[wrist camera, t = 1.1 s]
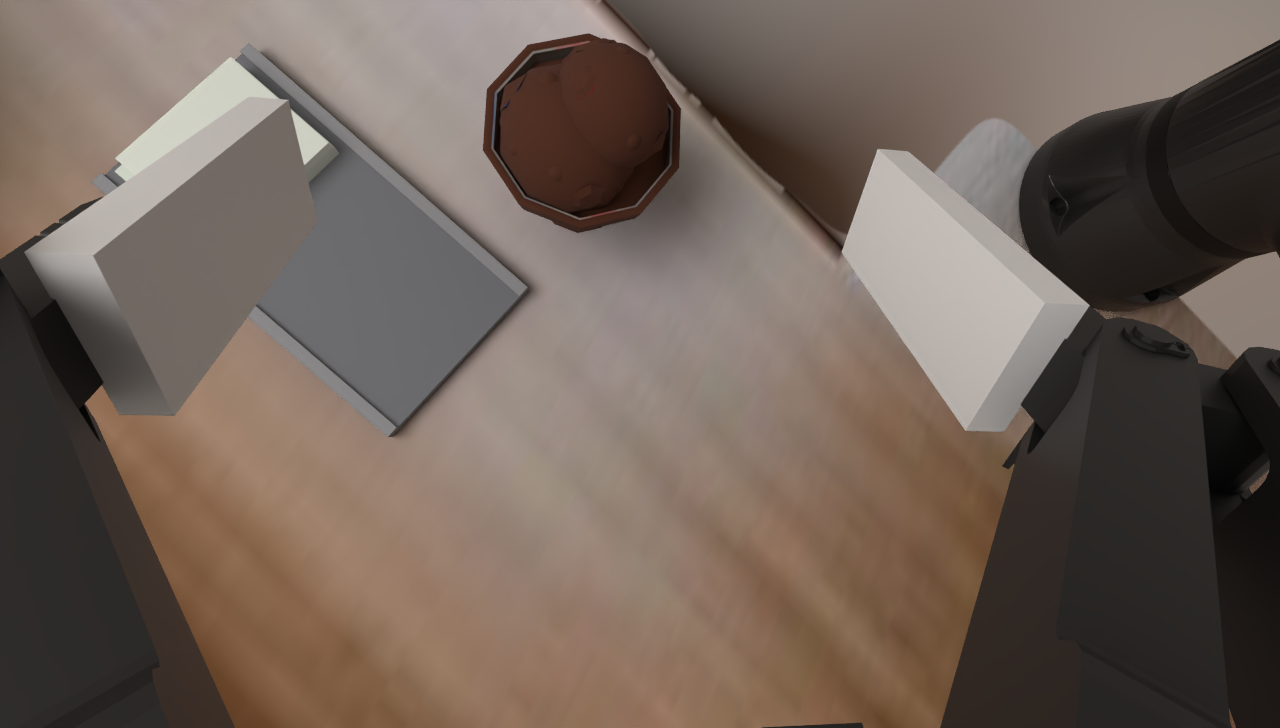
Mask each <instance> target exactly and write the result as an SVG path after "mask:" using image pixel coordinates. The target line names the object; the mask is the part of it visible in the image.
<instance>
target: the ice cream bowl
mask: <svg viewBox="0 0 1280 728" xmlns="http://www.w3.org/2000/svg"><path fill="white" fill-rule="evenodd" d="M680 116H681V108H680V107H679V105H678V104H677V102H676V101H675V99H674V98H673V97H672V95H671V94H670V92H669V91H668V89H667V88H666V86H665V84H664V82H663V81H662V79H661V78H660V76H659V75H658V73H657V72H656V70H655V69H654V67H653V66H652V64H651V63H650V61H649V60H648V58H647V57H645V56H644V55H642V54H641V53H639V52H638V51H636V50H634V49H633V48H631V47H630V46H628V45H626V44H623V43H617V42H616V41H614V40H608V39H605V38H603V39H601V38H598V37H596V36H594V35H591V34H583V35H578V36H573V37H567V38H562V39H556V40H551V41H546V42H540V43H535V44H530V45H527V46H526V48H525V49H524V50H523V51H522V52H521V53H520V54H519V55H518V56H517V57H516V58H515V59H514V61H513V62H512V63H511V64H510V65H509V66H508V67H507V68H506V69H505V70H504V71H503V72H502V73H501V75H500V76H499V77H498V78H497V79H496V80H495V81H494V82H493V83H492V84H491V85H490V86H489V88H488V89H487V98H486V113H485V128H484V143H483V151H484V152H485V154H486V155H487V157H488V158H489V160H490V161H491V163H492V164H493V166H494V167H495V169H496V170H497V172H498V173H499V175H500V176H501V178H502V179H503V181H504V183H505V184H506V186H507V187H508V189H509V190H510V192H511V193H512V195H513V196H514V198H515V199H516V201H517V202H518V204H519V205H520V206H521V207H522V208H523V209H524V210H526V211H529V212H531V213H534V214H536V215H539V216H541V217H544V218H546V219H549V220H551V221H553V222H554V224H557V225H559V226H562V227H564V228H567V229H569V230H572V231H574V232H577V233H579V232H583V231H588V230H592V229H596V228H600V227H602V226H604V225H609V224H613V223H617V222H621V221H626V220H630V219H634V218H636V217H637V216H639V215H640V214H641V213H642V212H643V210H644V209H645V208H646V207H647V206H648V204H649V203H650V202H651V201H652V200H653V198H654V197H655V196H656V195H657V194H658V192H659V191H660V190H661V189H662V188H663V186H664V185H665V184H666V183H667V182H668V180H669V179H670V178H671V177H672V176H673V174H674V173H675V172H676V171H677V170H678V168H679V150H680Z"/></svg>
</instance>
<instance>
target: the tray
mask: <svg viewBox="0 0 1280 728" xmlns="http://www.w3.org/2000/svg"><path fill="white" fill-rule="evenodd" d="M240 52H241V53H242V54H241V55H240V56H239V57H238V58H237V59H236V60H235V61H236V62H237V63H239V64H240V65H242V66H243V67H244V68H245V69H246V70H247V71H248V72H250V73H251V74H252V75H253V76H254V77H255V78H256V79H258V80H259V81H260V82H261V83H262V84H263V85H264V86H266V87H267V88H268V89H269V90H270V91H271V92H272V93H274V94H275V95H276V96H277V97H278V98H279V99H284V100H289V104H290V108H291V109H292V110H293V111H294V112H295V113H296V114H298V115H299V116H300V117H301V118H302V119H303V120H304V121H306V122H307V123H308V124H309V125H310V126H311V127H312V128H314V129H315V130H316V131H317V132H318V133H319V134H320V135H322V136H323V137H324V138H325V139H326V140H327V141H328V142H330V143H331V144H332V145H333V146H334V147H335V148H336V149H337V151H338V152H339V154H338V155H337V156H336V157H335V158H334V159H333V160H332V161H331V162H330V163H329V164H328V165H327V166H326V167H325V168H324V169H323V170H322V171H320V172H319V173H318V174H317V175H316V176H315V177H314V178H313V179H312V180H311V181H310V182H309V187H310V191H311V195H312V200H313V204H314V208H315V212H316V216H317V220H318V222H317V223H316V225H315V226H314V227H313V229H312V230H311V231H310V233H309V234H308V235H307V237H306V238H305V239H304V241H303V242H302V244H301V245H300V246H299V248H298V249H297V250H296V252H295V253H294V254H293V256H292V257H291V258H290V260H289V261H288V263H287V264H286V265H285V267H284V268H283V269H282V271H281V272H280V273H279V275H278V276H277V278H276V279H275V280H274V282H273V283H272V284H271V286H270V287H269V288H268V290H267V291H266V292H265V294H264V295H263V297H262V298H261V299H260V301H259V302H258V303H257V305H256V306H255V307H254V309H253V310H252V311H251V313H250V314H249V316H248V318H250V319H251V320H252V321H253V322H254V323H255V324H257V325H258V326H259V327H260V328H261V329H262V330H264V331H265V332H266V333H267V334H268V335H269V336H271V337H272V338H273V339H274V340H275V341H276V342H278V343H279V344H280V345H281V346H282V347H283V348H285V349H286V350H287V351H288V352H289V353H290V354H292V355H293V356H294V357H295V358H296V359H297V360H298V361H300V362H301V363H302V364H303V365H304V366H305V367H307V368H308V369H309V370H310V371H311V372H312V373H314V374H315V375H316V376H317V377H318V378H319V379H321V380H322V381H323V382H324V383H325V384H326V385H328V386H329V387H330V388H331V389H332V390H333V391H335V392H336V393H337V394H338V395H339V396H340V397H342V398H343V399H344V400H345V401H346V402H347V403H348V404H350V405H351V406H352V407H353V408H354V409H355V410H357V411H358V412H359V413H360V414H361V415H362V416H364V417H365V418H366V419H367V420H368V421H369V422H371V423H372V424H373V425H374V426H375V427H376V428H378V429H379V430H380V431H381V432H382V433H383V434H385V435H386V436H387V437H393V436H394V434H395V433H396V432H397V431H398V430H399V429H400V428H401V427H402V426H403V425H404V424H405V423H406V422H407V421H408V419H409V418H410V417H411V416H412V415H413V414H414V413H415V412H416V411H417V410H418V409H419V408H420V407H421V406H422V404H423V403H424V402H425V401H426V400H427V399H428V398H429V397H430V396H431V395H432V394H433V393H434V392H435V391H436V389H437V388H438V387H439V386H440V385H441V384H442V383H443V382H444V381H445V380H446V379H447V378H448V377H449V376H450V374H451V373H452V372H453V371H454V370H455V369H456V368H457V367H458V366H459V365H460V364H461V363H462V362H463V361H464V359H465V358H466V357H467V356H468V355H469V354H470V353H471V352H472V351H473V350H474V349H475V348H476V347H477V346H478V344H479V343H480V342H481V341H482V340H483V339H484V338H485V337H486V336H487V335H488V334H489V333H490V332H491V331H492V329H493V328H494V327H495V326H496V325H497V324H498V323H499V322H500V321H501V320H502V319H503V318H504V317H505V316H506V314H507V313H508V312H509V311H510V310H511V309H512V308H513V307H514V306H515V305H516V304H517V303H518V302H519V301H520V299H521V298H522V297H523V296H524V295H525V294H526V293H527V292H528V287H527V286H526V285H525V284H523V283H522V282H521V281H520V280H519V279H518V278H517V277H515V276H514V275H513V274H512V273H511V272H510V271H509V270H507V269H506V268H505V267H504V266H503V265H502V264H501V263H499V262H498V261H497V260H496V259H495V258H494V257H493V256H491V255H490V254H489V253H488V252H487V251H486V250H485V249H483V248H482V247H481V246H480V245H479V244H478V243H477V242H475V241H474V240H473V239H472V238H471V237H470V236H469V235H468V234H466V233H465V232H464V231H463V230H462V229H461V228H460V227H458V226H457V225H456V224H455V223H454V222H453V221H452V220H450V219H449V218H448V217H447V216H446V215H445V214H444V213H442V212H441V211H440V210H439V209H438V208H437V207H436V206H434V205H433V204H432V203H431V202H430V201H429V200H428V199H426V198H425V197H424V196H423V195H422V194H421V193H420V192H418V191H417V190H416V189H415V188H414V187H413V186H412V185H410V184H409V183H408V182H407V181H406V180H405V179H404V178H402V177H401V176H400V175H399V174H398V173H397V172H396V171H395V170H393V169H392V168H391V167H390V166H389V165H388V164H387V163H385V162H384V161H383V160H382V159H381V158H380V157H379V156H377V155H376V154H375V153H374V152H373V151H372V150H371V149H369V148H368V147H367V146H366V145H365V144H364V143H363V142H361V141H360V140H359V139H358V138H357V137H356V136H355V135H353V134H352V133H351V132H350V131H349V130H348V129H347V128H345V127H344V126H343V125H342V124H341V123H340V122H339V121H337V120H336V119H335V118H334V117H333V116H332V115H331V114H329V113H328V112H327V111H326V110H325V109H324V108H323V107H321V106H320V105H319V104H318V103H317V102H316V101H315V100H314V99H312V98H311V97H310V96H309V95H308V94H307V93H306V92H304V91H303V90H302V89H301V88H300V87H299V86H298V85H296V84H295V83H294V82H293V81H292V80H291V79H290V78H288V77H287V76H286V75H285V74H284V73H283V72H282V71H280V70H279V69H278V68H277V67H276V66H275V65H274V64H272V63H271V62H270V61H269V60H268V59H267V58H266V57H264V56H263V55H262V54H261V53H260V52H259V51H258V50H256V49H255V48H254V47H253V46H252V45H251V44H250V43H248V44H247V45H246V46H245V47H244V48H243V49H242V50H240ZM121 165H122V164H121V163H120V162H119V163H118V164H117V165H116V166H114V167H113V168H112V169H111V170H110V171H109V172H108V173H106V174H105V175H104V174H102V173H101V174H99V175H98V176H97V177H96V178H95V179H94V180H93V181H92V182H91V183H93V184H94V185H95V186H96V187H97V188H98V189H100V190H101V191H102V192H103V193H104V194H105V195H107V194H109V193H110V192H112V191H113V190H115V189H116V188H117V187H119V186H120V185H122V184H123V183H125V182H126V181H125V180H124V179H123V178H122V177H120V176H119V175H118V174H117V173H116V172H115V170H116V169H117V168H119V167H120V166H121Z"/></svg>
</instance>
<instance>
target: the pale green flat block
mask: <svg viewBox="0 0 1280 728" xmlns="http://www.w3.org/2000/svg"><path fill="white" fill-rule="evenodd" d="M248 97H260V98H272V99H279V98H278V97H277V96H276V95H275V94H274V93H272V92H271V91H270V90H269V89H268V88H267V87H266V86H264V85H263V84H262V83H261V82H260V81H259V80H258V79H256V78H255V77H254V76H253V75H252V74H251V73H250V72H248V71H247V70H246V69H245V68H244V67H243V66H242V65H240V64H239V63H237V62H236V61H235V60H234V59H233V58H232V57H230V58H229V59H227V60H226V61H225V62H224V63H223V64H222V65H221V66H219V67H218V68H217V69H216V70H215V71H214V72H213V73H212V74H210V75H209V76H208V77H207V78H206V79H205V80H204V81H202V82H201V83H200V84H199V85H198V86H197V87H196V88H194V89H193V90H192V91H191V92H190V93H189V94H188V95H186V96H185V97H184V98H183V99H182V100H181V101H180V102H179V103H177V104H176V105H175V106H174V107H173V108H172V109H171V110H169V111H168V112H167V113H166V114H165V115H164V116H163V117H161V118H160V119H159V120H158V121H157V122H156V123H155V124H154V125H152V126H151V127H150V128H149V129H148V130H147V131H146V132H144V133H143V134H142V135H141V136H140V137H139V138H138V139H136V140H135V141H134V142H133V143H132V144H131V145H130V146H128V147H127V148H126V149H125V150H124V151H123V152H122V153H121V154H119V155H118V156H117V157H116V158H115V159H116V160H117V161H119V162H120V163H121V164H122V165H121V166H120V167H119V168H117V169H116V170H115V172H116V173H117V174H118V175H119V176H120V177H122V178H123V179H124V180H125V181H128V180H129V179H131V178H132V177H133V176H135V175H136V174H138V173H139V172H141V171H142V170H144V169H145V168H146V167H148V166H149V165H151V164H152V163H154V162H155V161H157V160H158V159H159V158H161V157H162V156H164V155H165V154H167V153H168V152H170V151H171V150H172V149H174V148H175V147H177V146H178V145H180V144H181V143H183V142H184V141H186V140H187V139H188V138H190V137H191V136H193V135H194V134H196V133H197V132H199V131H200V130H201V129H203V128H204V127H206V126H207V125H209V124H210V123H212V122H213V121H214V120H216V119H217V118H219V117H220V116H222V115H223V114H225V113H226V112H227V111H229V110H230V109H232V108H233V107H235V106H236V105H238V104H239V103H241V102H242V101H243V100H245V99H246V98H248ZM290 109H291V108H290ZM291 113H292V117H293V121H294V125H295V129H296V133H297V138H298V142H299V146H300V150H301V154H302V158H303V162H304V166H305V171H306V175H307V179H308V183H309V182H310V181H311V180H312V179H313V178H314V177H315V176H316V175H317V174H318V173H319V172H320V171H322V170H323V169H324V168H325V167H326V166H327V165H328V164H329V163H330V162H331V161H332V160H333V159H334V158H335V157H336V156H337V155H338V154H339V152H338V151H337V149H336V148H335V147H334V146H333V145H332V144H331V143H330V142H328V141H327V140H326V139H325V138H324V137H323V136H322V135H320V134H319V133H318V132H317V131H316V130H315V129H314V128H312V127H311V126H310V125H309V124H308V123H307V122H306V121H304V120H303V119H302V118H301V117H300V116H299V115H298V114H296V113H295V112H294V111H293V110H292V109H291Z"/></svg>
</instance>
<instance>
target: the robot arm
mask: <svg viewBox="0 0 1280 728" xmlns="http://www.w3.org/2000/svg"><path fill="white" fill-rule="evenodd" d="M1020 219H1021V225H1022V230H1023V233H1024V237H1025V240H1026V243H1027V245H1028V247H1029V250H1030V252H1031V254H1032V256H1033V257H1032V256H1031V255H1030V254H1029V253H1027V252H1026V251H1025V250H1024V249H1023V248H1021V247H1020V246H1019V245H1018V244H1017V243H1016V242H1014V241H1013V240H1012V239H1011V238H1010V237H1008V236H1007V235H1006V234H1005V233H1004V232H1003V231H1001V230H1000V229H999V228H998V227H997V226H995V225H994V224H993V223H992V222H991V221H990V220H988V219H987V218H986V217H985V216H984V215H983V214H981V213H980V212H979V211H978V210H977V209H975V208H974V207H973V206H972V205H971V204H970V203H968V202H967V201H966V200H965V199H964V198H962V197H961V196H960V195H959V194H958V193H957V192H955V191H954V190H953V189H952V188H951V187H949V186H948V185H947V184H946V183H945V182H944V181H942V180H941V179H940V178H939V177H938V176H936V175H935V174H934V173H933V172H932V171H931V170H929V169H928V168H927V167H926V166H925V165H923V164H922V163H921V162H920V161H919V160H917V159H916V158H915V157H914V156H913V155H912V154H910V153H909V152H908V151H896V150H884V149H878V150H877V153H876V156H875V159H874V162H873V164H872V167H871V170H870V173H869V176H868V179H867V182H866V184H865V187H864V190H863V193H862V196H861V199H860V201H859V204H858V207H857V210H856V213H855V216H854V219H853V221H852V224H851V227H850V230H849V233H848V236H847V238H846V241H845V244H844V247H843V250H842V254H843V255H844V257H845V258H846V259H847V261H848V262H849V264H850V265H851V267H852V268H853V270H854V271H855V272H856V274H857V275H858V277H859V278H860V280H861V281H862V282H863V284H864V285H865V287H866V288H867V290H868V291H869V293H870V294H871V295H872V297H873V298H874V300H875V301H876V303H877V304H878V306H879V307H880V308H881V310H882V311H883V313H884V314H885V316H886V317H887V318H888V320H889V321H890V323H891V324H892V326H893V327H894V329H895V330H896V331H897V333H898V334H899V336H900V337H901V339H902V340H903V342H904V343H905V344H906V346H907V347H908V349H909V350H910V352H911V353H912V354H913V356H914V357H915V359H916V360H917V362H918V363H919V365H920V366H921V367H922V369H923V370H924V372H925V373H926V375H927V376H928V378H929V379H930V380H931V382H932V383H933V385H934V386H935V388H936V389H937V390H938V392H939V393H940V395H941V396H942V398H943V399H944V401H945V402H946V403H947V405H948V406H949V408H950V409H951V411H952V412H953V414H954V415H955V416H956V418H957V419H958V421H959V422H960V424H961V425H962V426H963V428H964V429H965V431H997V432H1004V431H1005V430H1006V428H1007V427H1008V425H1009V424H1010V422H1011V421H1012V419H1013V418H1014V416H1015V415H1016V413H1017V412H1018V411H1019V409H1020V408H1021V406H1023V408H1024V409H1025V410H1026V411H1027V412H1028V414H1029V415H1030V416H1031V417H1032V418H1033V420H1034V422H1033V423H1032V425H1031V426H1030V428H1029V429H1028V430H1027V432H1026V433H1025V435H1024V436H1023V437H1022V439H1021V440H1020V442H1019V443H1018V444H1017V446H1016V447H1015V449H1014V450H1013V451H1012V453H1011V454H1010V456H1009V457H1008V459H1007V460H1006V461H1005V463H1004V464H1003V467H1005V468H1007V469H1009V468H1010V467H1011V466H1012V465H1013V464H1015V466H1014V469H1013V473H1012V476H1011V480H1010V484H1009V487H1008V491H1007V494H1006V498H1005V501H1004V505H1003V508H1002V512H1001V515H1000V519H999V522H998V526H997V529H996V533H995V536H994V540H993V543H992V547H991V551H990V554H989V558H988V561H987V565H986V568H985V572H984V575H983V579H982V582H981V586H980V589H979V593H978V596H977V600H976V603H975V607H974V610H973V614H972V618H971V621H970V625H969V628H968V632H967V635H966V639H965V642H964V646H963V649H962V653H961V656H960V660H959V663H958V667H957V670H956V674H955V677H954V681H953V684H952V688H951V692H950V695H949V699H948V702H947V706H946V709H945V713H944V716H943V720H942V723H941V727H940V728H1232V727H1231V723H1230V716H1229V709H1230V712H1231V714H1232V717H1233V720H1234V722H1235V725H1236V728H1280V351H1279V350H1274V349H1269V348H1263V347H1252V348H1248V349H1247V350H1246V351H1245V352H1243V354H1242V355H1241V356H1240V357H1239V358H1238V359H1237V360H1236V361H1235V362H1234V363H1233V364H1232V366H1231V367H1230V368H1229V369H1228V370H1225V369H1220V368H1216V367H1212V366H1207V365H1203V364H1198V361H1197V357H1196V355H1195V353H1194V351H1193V350H1192V349H1191V348H1190V347H1189V345H1188V344H1186V343H1184V342H1183V341H1182V340H1180V339H1179V338H1177V337H1175V336H1174V335H1172V334H1170V333H1169V332H1168V331H1166V330H1164V329H1162V328H1160V327H1158V326H1155V325H1151V324H1148V323H1144V322H1140V321H1137V320H1133V319H1126V318H1112V319H1107V320H1106V319H1105V318H1104V317H1103V316H1101V315H1100V314H1099V313H1098V312H1097V311H1096V310H1094V309H1093V308H1097V309H1101V310H1107V311H1128V310H1134V309H1139V308H1144V307H1148V306H1153V305H1158V304H1162V303H1165V302H1168V301H1170V300H1173V299H1175V298H1177V297H1179V296H1181V295H1183V294H1185V293H1187V292H1188V291H1190V290H1192V289H1194V288H1195V287H1197V286H1199V285H1200V284H1202V283H1204V282H1206V281H1207V280H1209V279H1211V278H1213V277H1214V276H1216V275H1218V274H1220V273H1221V272H1223V271H1225V270H1226V269H1228V268H1230V267H1232V266H1233V265H1235V264H1237V263H1239V262H1240V261H1242V260H1244V259H1246V258H1250V257H1254V256H1258V255H1262V254H1266V253H1270V252H1275V251H1276V252H1277V253H1278V255H1279V257H1280V40H1279V41H1276V42H1274V43H1273V44H1271V45H1269V46H1267V47H1265V48H1263V49H1262V50H1259V51H1257V52H1256V53H1254V54H1252V55H1250V56H1248V57H1246V58H1244V59H1242V60H1241V61H1239V62H1237V63H1235V64H1233V65H1231V66H1229V67H1227V68H1225V69H1223V70H1222V71H1220V72H1218V73H1216V74H1214V75H1212V76H1210V77H1208V78H1207V79H1205V80H1203V81H1201V82H1199V83H1198V84H1196V85H1194V86H1192V87H1190V88H1188V89H1186V90H1185V91H1183V92H1181V93H1179V94H1177V95H1175V96H1173V97H1169V98H1165V99H1160V100H1156V101H1151V102H1146V103H1142V104H1137V105H1133V106H1129V107H1124V108H1120V109H1115V110H1111V111H1106V112H1101V113H1097V114H1094V115H1092V116H1089V117H1086V118H1084V119H1082V120H1080V121H1079V122H1076V123H1075V124H1073V125H1072V126H1070V127H1068V128H1066V129H1065V130H1063V131H1061V132H1059V133H1058V134H1056V135H1055V136H1053V137H1052V138H1050V139H1049V140H1048V141H1047V142H1045V143H1044V144H1043V145H1042V146H1041V148H1040V149H1039V150H1038V151H1037V152H1036V154H1035V155H1034V156H1033V158H1032V160H1031V161H1030V163H1029V165H1028V167H1027V170H1026V172H1025V175H1024V178H1023V181H1022V186H1021V191H1020ZM317 222H318V220H317V216H316V212H315V208H314V204H313V200H312V195H311V191H310V187H309V183H308V179H307V175H306V171H305V166H304V162H303V158H302V154H301V150H300V146H299V142H298V138H297V133H296V129H295V125H294V121H293V117H292V113H291V109H290V104H289V100H284V99H272V98H260V97H248V98H246V99H245V100H243V101H242V102H241V103H239V104H238V105H236V106H235V107H233V108H232V109H230V110H229V111H227V112H226V113H225V114H223V115H222V116H220V117H219V118H217V119H216V120H214V121H213V122H212V123H210V124H209V125H207V126H206V127H204V128H203V129H201V130H200V131H199V132H197V133H196V134H194V135H193V136H191V137H190V138H188V139H187V140H186V141H184V142H183V143H181V144H180V145H178V146H177V147H175V148H174V149H172V150H171V151H170V152H168V153H167V154H165V155H164V156H162V157H161V158H159V159H158V160H157V161H155V162H154V163H152V164H151V165H149V166H148V167H146V168H145V169H144V170H142V171H141V172H139V173H138V174H136V175H135V176H133V177H132V178H131V179H129V180H128V181H126V182H125V183H123V184H122V185H120V186H119V187H117V188H116V189H115V190H113V191H112V192H110V193H109V194H107V195H106V196H104V197H101V198H98V199H96V200H93V201H90V202H88V203H85V204H82V205H80V206H79V207H77V208H76V209H74V210H73V211H71V212H70V213H68V214H67V215H65V216H64V217H62V218H61V219H59V223H54V224H52V225H51V226H49V227H48V228H46V229H45V230H43V231H42V232H40V233H41V236H34V237H33V238H31V239H30V240H28V241H27V242H25V243H24V244H22V245H21V246H19V247H18V248H16V249H15V250H14V251H12V252H11V253H9V254H8V255H6V256H5V257H3V258H2V259H0V728H235V727H234V725H233V723H232V720H231V718H230V716H229V714H228V712H227V709H226V707H225V705H224V703H223V700H222V698H221V696H220V694H219V692H218V689H217V687H216V685H215V683H214V681H213V678H212V676H211V674H210V672H209V670H208V667H207V665H206V663H205V661H204V659H203V656H202V654H201V652H200V650H199V648H198V645H197V643H196V641H195V639H194V637H193V634H192V632H191V630H190V628H189V625H188V623H187V621H186V619H185V617H184V614H183V612H182V610H181V608H180V606H179V603H178V601H177V599H176V597H175V595H174V592H173V590H172V588H171V586H170V584H169V581H168V579H167V577H166V575H165V573H164V570H163V568H162V566H161V564H160V562H159V559H158V557H157V555H156V553H155V551H154V548H153V546H152V544H151V542H150V539H149V537H148V535H147V533H146V531H145V528H144V526H143V524H142V522H141V520H140V517H139V515H138V513H137V511H136V509H135V506H134V504H133V502H132V500H131V498H130V495H129V493H128V491H127V489H126V487H125V484H124V482H123V480H122V478H121V476H120V473H119V471H118V469H117V467H116V464H115V462H114V460H113V458H112V456H111V453H110V451H109V449H108V447H107V445H106V442H105V440H104V438H103V436H102V434H101V431H100V429H99V427H98V425H97V423H96V421H95V419H94V417H93V416H92V414H91V413H90V411H89V409H88V408H87V406H86V405H85V402H86V401H87V400H88V399H89V398H90V397H91V396H92V395H93V394H94V393H95V392H96V390H97V389H98V388H99V387H100V386H101V385H102V386H103V387H104V389H105V391H106V393H107V394H108V396H109V398H110V399H111V401H112V403H113V404H114V406H115V408H116V410H117V411H118V413H119V415H165V416H175V415H176V413H177V412H178V411H179V409H180V408H181V406H182V405H183V404H184V402H185V401H186V400H187V398H188V397H189V396H190V394H191V393H192V392H193V390H194V389H195V387H196V386H197V385H198V383H199V382H200V381H201V379H202V378H203V377H204V375H205V374H206V373H207V371H208V370H209V368H210V367H211V366H212V364H213V363H214V362H215V360H216V359H217V358H218V356H219V355H220V354H221V352H222V351H223V349H224V348H225V347H226V345H227V344H228V343H229V341H230V340H231V339H232V337H233V336H234V335H235V333H236V332H237V330H238V329H239V328H240V326H241V325H242V324H243V322H244V321H245V320H246V318H247V317H248V316H249V314H250V313H251V311H252V310H253V309H254V307H255V306H256V305H257V303H258V302H259V301H260V299H261V298H262V297H263V295H264V294H265V292H266V291H267V290H268V288H269V287H270V286H271V284H272V283H273V282H274V280H275V279H276V278H277V276H278V275H279V273H280V272H281V271H282V269H283V268H284V267H285V265H286V264H287V263H288V261H289V260H290V258H291V257H292V256H293V254H294V253H295V252H296V250H297V249H298V248H299V246H300V245H301V244H302V242H303V241H304V239H305V238H306V237H307V235H308V234H309V233H310V231H311V230H312V229H313V227H314V226H315V225H316V223H317ZM1092 307H1093V308H1092ZM1268 470H1269V473H1268V475H1267V478H1266V480H1265V481H1264V482H1263V484H1262V485H1261V486H1260V487H1259V488H1258V489H1257V490H1256V491H1255V492H1254V493H1253V494H1252V493H1251V491H1250V489H1249V487H1250V486H1252V485H1253V484H1254V483H1255V482H1256V481H1257V480H1258V479H1259V478H1261V477H1262V476H1263V475H1264V474H1265V473H1266V472H1267V471H1268ZM763 728H863V725H862V723H847V724H826V725H805V726H784V727H763Z"/></svg>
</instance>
